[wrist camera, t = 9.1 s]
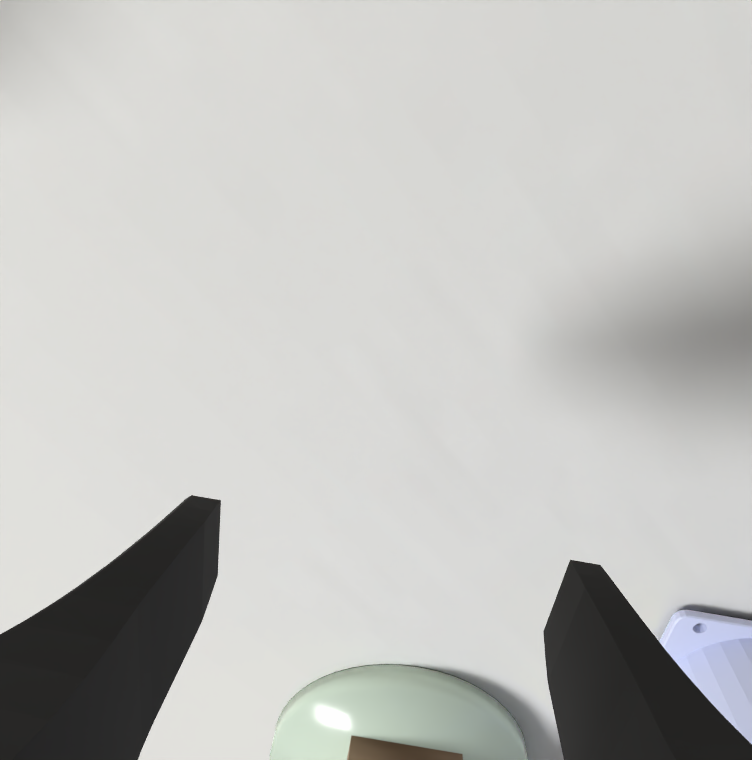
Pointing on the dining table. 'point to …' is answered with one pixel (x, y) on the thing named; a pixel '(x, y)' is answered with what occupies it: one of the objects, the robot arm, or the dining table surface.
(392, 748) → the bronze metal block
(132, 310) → the dining table surface
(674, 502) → the dining table surface
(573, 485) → the dining table surface
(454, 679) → the pale green domed disc
